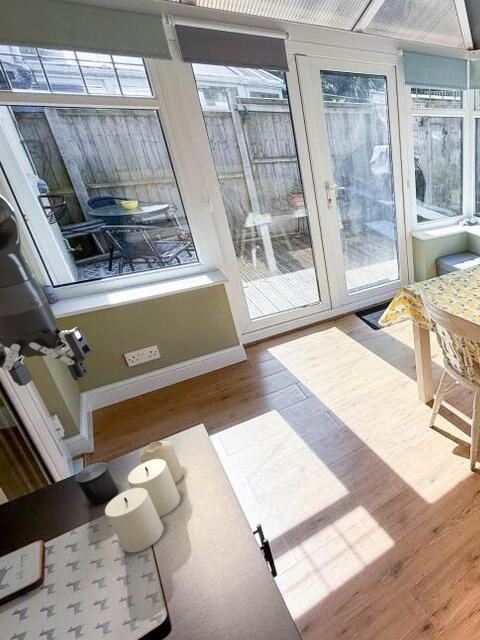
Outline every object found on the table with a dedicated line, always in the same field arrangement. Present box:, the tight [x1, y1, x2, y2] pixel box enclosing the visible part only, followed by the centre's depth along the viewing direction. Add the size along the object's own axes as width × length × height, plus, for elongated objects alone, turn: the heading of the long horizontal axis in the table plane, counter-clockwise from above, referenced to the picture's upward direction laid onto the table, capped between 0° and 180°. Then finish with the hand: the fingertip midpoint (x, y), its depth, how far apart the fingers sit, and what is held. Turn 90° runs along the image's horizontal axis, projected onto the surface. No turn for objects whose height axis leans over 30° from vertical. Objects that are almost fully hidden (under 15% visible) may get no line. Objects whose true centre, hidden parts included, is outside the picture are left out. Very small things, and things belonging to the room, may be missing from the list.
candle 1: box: [139, 440, 184, 485], centre depth 90 cm, size 6×6×10 cm
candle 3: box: [104, 488, 165, 554], centre depth 77 cm, size 6×6×11 cm
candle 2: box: [127, 459, 181, 518], centre depth 84 cm, size 6×6×11 cm
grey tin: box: [74, 462, 119, 506], centre depth 86 cm, size 5×5×7 cm
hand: (53, 380), depth 78 cm, fingers open, 8 cm apart
